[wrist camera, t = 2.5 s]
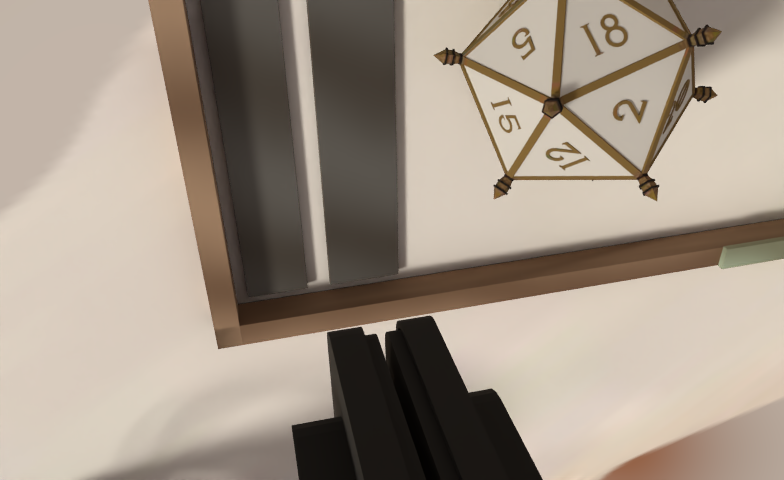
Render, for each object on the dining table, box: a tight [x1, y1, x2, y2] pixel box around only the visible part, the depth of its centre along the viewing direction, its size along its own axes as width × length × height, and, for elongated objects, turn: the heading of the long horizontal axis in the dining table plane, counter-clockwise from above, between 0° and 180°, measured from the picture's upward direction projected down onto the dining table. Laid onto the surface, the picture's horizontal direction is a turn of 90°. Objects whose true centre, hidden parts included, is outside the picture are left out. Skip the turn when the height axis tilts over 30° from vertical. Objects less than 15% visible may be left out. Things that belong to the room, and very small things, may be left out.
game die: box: [434, 0, 722, 201], centre depth 23 cm, size 9×8×10 cm
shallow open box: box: [149, 0, 784, 349], centre depth 25 cm, size 22×33×4 cm
